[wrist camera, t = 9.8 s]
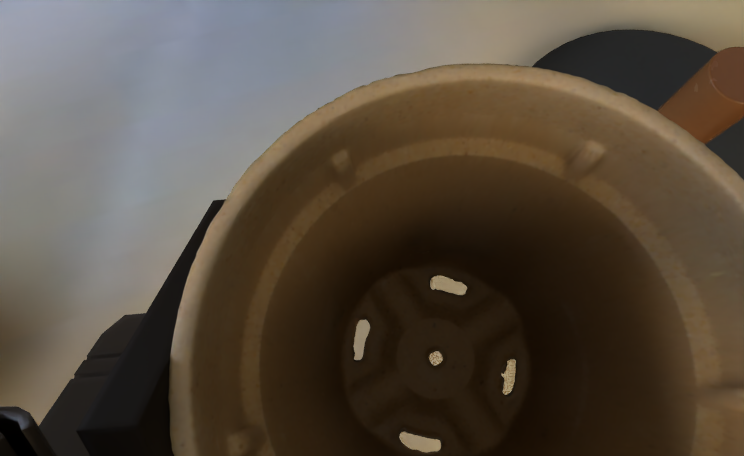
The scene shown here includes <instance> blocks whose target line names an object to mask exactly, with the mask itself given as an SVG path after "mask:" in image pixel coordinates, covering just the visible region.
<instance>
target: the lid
mask: <svg viewBox="0 0 744 456" xmlns="http://www.w3.org/2000/svg"><path fill="white" fill-rule="evenodd" d="M532 67H536V68H541V69H549V70H552V71H557V72H560V73H565V74H570V75H572V76H577V77H581V78H585V79H587V80H589V81H591V82H594V83H596V84H599V85H603V86H607V87H608V88H610V89H612V90H613V91H615V92H619V93H624V94H626V95H628V96H629V97H632V98H634V99H637V100H638V101H639V102H640V103H643V104H645V105H647V106H649V107H651V108H653V109H655V110H656V111H658V112H659V113H660V114H662V115H663V116H665V117H666V118H667V119H669V120H671V121H673V122H675V123H676V124H677V125H679V126H680V127H681V128H683V129H684V130H686V131H687V132H689V133H690V134H691V135H692V136H693V137H694V138H696V139H697V140H699V141H701V142H702V143H704V144H705V145H706V147H707V148H709V149H710V150H711V151H712V152H713V153H715V154H716V155H717V156H719V157H720V158H721V159H722V160H723V161H724V162H725V163H726V164H727V165H728V166H730V167H731V168H732V169H733V170H734V171H736V172H737V173H738V175H739V176H740V177H741V178H742V179H743V180H744V47H731V48H727V49H724V50H721V51H720V52H718V53H717V52H715V51H713V50H712V49H710V48H708V47H706V46H703V45H701V44H698V43H696V42H693V41H691V40H688V39H685V38H682V37H678V36H675V35H671V34H666V33H661V32H655V31H647V30H612V31H605V32H599V33H594V34H591V35H587V36H583V37H580V38H577V39H575V40H572V41H570V42H567V43H565V44H563V45H562V46H560V47H558V48H556V49H554V50H553V51H551V52H549V53H548V54H547V55H545V56H544V57H543V58H541V59H540V60H539V61H537V62H536V63H535V64H534V65H533V66H532Z"/></svg>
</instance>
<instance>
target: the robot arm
mask: <svg viewBox="0 0 744 456" xmlns="http://www.w3.org/2000/svg"><path fill="white" fill-rule="evenodd" d="M225 200H226V199H225ZM225 200H214V201H213V202H212V204H211V205H210V207H209V209H208V210H207V212H206V214H205V215H204V217H203V219H202V220H201V222H200V224H199V225H198V227H197V229H196V230H195V232H194V234H193V235H192V237H191V239H190V240H189V242H188V244H187V246H186V247H185V249H184V251H183V252H182V254H181V256H180V257H179V259H178V261H177V262H176V264H175V266H174V267H173V269H172V271H171V272H170V274H169V276H168V277H167V279H166V281H165V282H164V284H163V286H162V287H161V289H160V291H159V292H158V294H157V296H156V297H155V299H154V301H153V302H152V304H151V306H150V307H149V309H148V311H147V312H146V313H143V314H132V315H124V316H123V317H122V318H121V319H120V320H118V321H117V322H116V323H115V324H113V325H112V326H111V327H110V328H109V329H107V330H106V331H105V332H104V333H103V334H101V336H100V337H99V339H98V340H97V342H96V343H95V345H94V346H93V348H92V349H91V351H90V352H89V353H88V355H87V360H84V361H83V362H82V364H81V365H80V367H79V368H78V370H77V371H76V372H75V374H74V375H75V377H74V379H71V380H70V381H69V383H68V384H67V386H66V387H65V388H64V390H63V391H62V393H61V394H60V396H59V397H58V399H57V400H56V402H55V403H54V405H53V406H52V407H51V409H50V410H49V412H48V413H47V415H46V416H45V418H44V419H43V421H42V422H41V424H40V425H39V426H38V425H37V424H36V422H35V420H34V419H33V417H32V416H31V414H30V413H29V412H27V411H25V410H23V409H21V408H19V407H0V456H174V454H173V451H172V443H171V438H170V412H169V402H168V394H169V366H170V354H171V347H172V341H173V335H174V329H175V325H176V320H177V315H178V309H179V306H180V302H181V299H182V295H183V291H184V287H185V284H186V281H187V277H188V275H189V272H190V269H191V266H192V264H193V262H194V260H195V258H196V254H197V251H198V249H199V247H200V246H201V244H202V242H203V239H204V237H205V234H206V231H207V229H208V227H209V225H210V223H211V222H212V220H213V219H214V217H215V216H216V215H217V213H218V212H219V211H220V209H221V208H222V206H223V204H224V201H225Z"/></svg>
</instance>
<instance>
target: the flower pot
mask: <svg viewBox="0 0 744 456" xmlns="http://www.w3.org/2000/svg"><path fill="white" fill-rule="evenodd" d="M437 275H442V276H445V277H448V278H450V279H453V280H454V281H458V282H462V283H463V284H465V285H466V286H467V290H466V293H465V294H464V295H457V294H453V293H448V292H445V291H442V290H437V289H434V290H432V289H431V287H430V281H431V278H432V277H434V276H437ZM365 319H366V320H367V321H368V322H369V324H370V331H369V334H368V336H367V338H366V341H365V346H364V353H363V357H362V359H361V360H354V356H355V352H354V347H353V345H354V337H355V332H356V326H357V324H358V322H359V320H365ZM435 351H439V352H440V353H441V354H442V357H443V361H442V362H441V363H440V364H439V365H436V366H434V365H432V364H431V362H430V360H429V355H430V354H431V353H433V352H435ZM510 359H515V360H516V373H515V382H514V386H513V389H512V391H511V392H510V393H509V394H508V395H504V394H503V387H504V378H503V377H502V376H501V373H503V374H504V372H505V370H506V366H507V361H508V360H510ZM168 402H169V412H170V438H171V443H172V451H173V454H174V456H744V180H743V179H742V178H741V177H740V176H739V175H738V173H737V172H736V171H734V170H733V169H732V168H731V167H730V166H728V165H727V164H726V163H725V162H724V161H723V160H722V159H721V158H720V157H719V156H717V155H716V154H715V153H713V152H712V151H711V150H710V149H709V148H707V147H706V145H705V144H704V143H702V142H701V141H699V140H697V139H696V138H694V137H693V136H692V135H691V134H690V133H689V132H687V131H686V130H684V129H683V128H681V127H680V126H679V125H677V124H676V123H675V122H673V121H671V120H669V119H667V118H666V117H665V116H663V115H662V114H660V113H659V112H658V111H656V110H655V109H653V108H651V107H649V106H647V105H645V104H643V103H640V102H639V101H638V100H637V99H634V98H632V97H629V96H628V95H626V94H624V93H619V92H615V91H613V90H612V89H610V88H608V87H607V86H603V85H599V84H596V83H594V82H591V81H589V80H587V79H585V78H581V77H577V76H572V75H570V74H565V73H560V72H557V71H552V70H549V69H541V68H536V67H528V66H518V65H516V66H512V65H508V64H507V65H502V64H456V65H444V66H439V67H433V68H428V69H425V70H422V71H419V72H414V73H409V74H399V75H395V76H393V77H390V78H384V79H381V80H378V81H374V82H372V83H370V84H369V85H367V86H361V87H358V88H356V89H353V90H352V91H350V92H348V93H346V94H344V95H342V96H341V97H338V98H336V99H335V100H334V101H333V102H330V103H327V104H325V105H324V106H322V107H320V108H318V109H317V110H316V111H315V112H313V113H311V114H309V115H307V116H306V117H305V118H304V119H303V120H301V121H299V122H298V123H296V124H295V125H294V126H293V127H292V128H290V129H289V130H288V131H287V132H285V133H284V134H283V135H282V136H280V137H279V138H278V139H277V140H276V141H275V142H274V143H273V144H272V145H271V146H270V147H269V148H268V149H267V150H266V151H265V152H264V153H263V154H262V155H261V156H260V157H259V158H258V159H257V160H255V161H254V162H253V163H252V164H251V165H250V167H249V168H248V169H247V170H246V171H245V173H244V174H243V175H242V177H241V178H240V179H239V181H238V182H237V183H236V185H235V186H234V187H233V189H232V191H231V193H230V195H228V197H227V199H226V200H225V201H224V204H223V206H222V208H221V209H220V211H219V212H218V213H217V215H216V216H215V217H214V219H213V220H212V222H211V223H210V225H209V227H208V229H207V231H206V234H205V237H204V239H203V242H202V244H201V246H200V247H199V249H198V251H197V254H196V258H195V260H194V262H193V264H192V266H191V269H190V272H189V275H188V277H187V281H186V284H185V287H184V291H183V295H182V299H181V302H180V306H179V309H178V315H177V320H176V325H175V329H174V335H173V341H172V347H171V354H170V366H169V394H168ZM404 431H405V432H407V433H410V434H414V435H418V436H422V437H426V438H431V439H438V440H440V441H441V449H440V450H439V451H435V452H429V453H425V452H421V451H418V450H412V449H410V448H408V447H407V446H405V445H404V444H403V443H402V442H401V440H400V438H399V436H400V433H401V432H404Z"/></svg>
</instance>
